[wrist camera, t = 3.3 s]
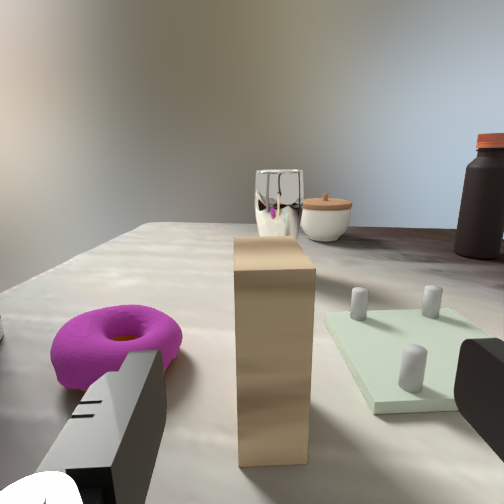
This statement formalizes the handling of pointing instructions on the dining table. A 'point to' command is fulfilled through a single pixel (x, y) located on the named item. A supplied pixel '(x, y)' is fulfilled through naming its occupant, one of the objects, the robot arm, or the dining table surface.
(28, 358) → the dining table surface
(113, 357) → the donut
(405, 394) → the peg stand
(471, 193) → the bottle
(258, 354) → the oak block
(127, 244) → the dining table surface
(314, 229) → the lidded jar
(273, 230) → the shiny metal tumbler
